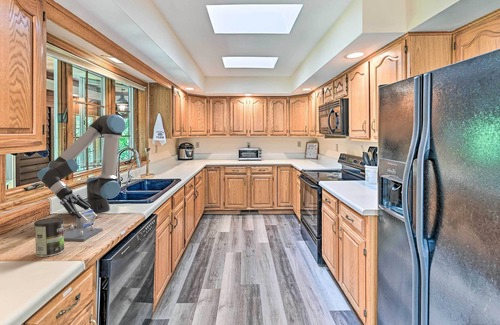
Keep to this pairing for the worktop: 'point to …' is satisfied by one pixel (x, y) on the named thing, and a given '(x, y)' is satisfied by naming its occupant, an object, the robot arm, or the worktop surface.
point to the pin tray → (80, 233)
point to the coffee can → (49, 237)
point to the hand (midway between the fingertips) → (90, 219)
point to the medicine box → (88, 215)
